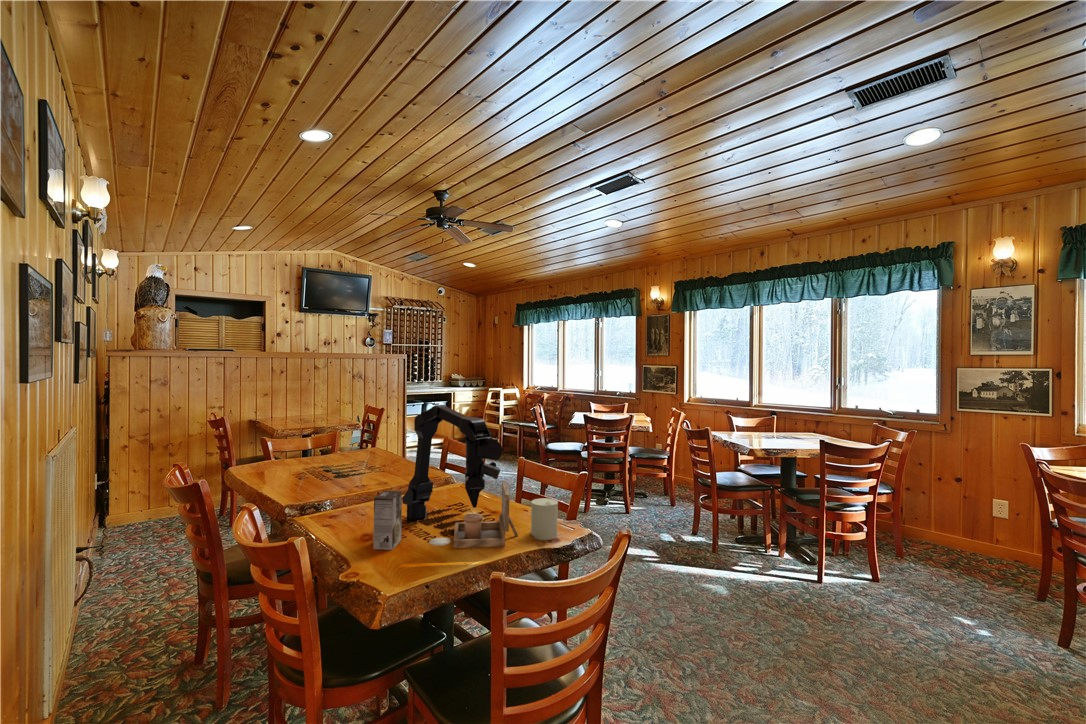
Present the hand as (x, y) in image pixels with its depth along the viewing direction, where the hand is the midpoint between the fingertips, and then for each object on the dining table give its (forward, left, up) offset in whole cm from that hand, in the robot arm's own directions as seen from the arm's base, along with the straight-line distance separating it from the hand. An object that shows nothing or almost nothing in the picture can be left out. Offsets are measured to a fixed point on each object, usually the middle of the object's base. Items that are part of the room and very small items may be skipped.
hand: (474, 503), depth 171 cm
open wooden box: (+4, -1, -12) cm, 13 cm away
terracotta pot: (0, -1, -11) cm, 11 cm away
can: (+24, +1, -12) cm, 26 cm away
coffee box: (-27, -3, -12) cm, 30 cm away
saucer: (-11, -4, -12) cm, 16 cm away
